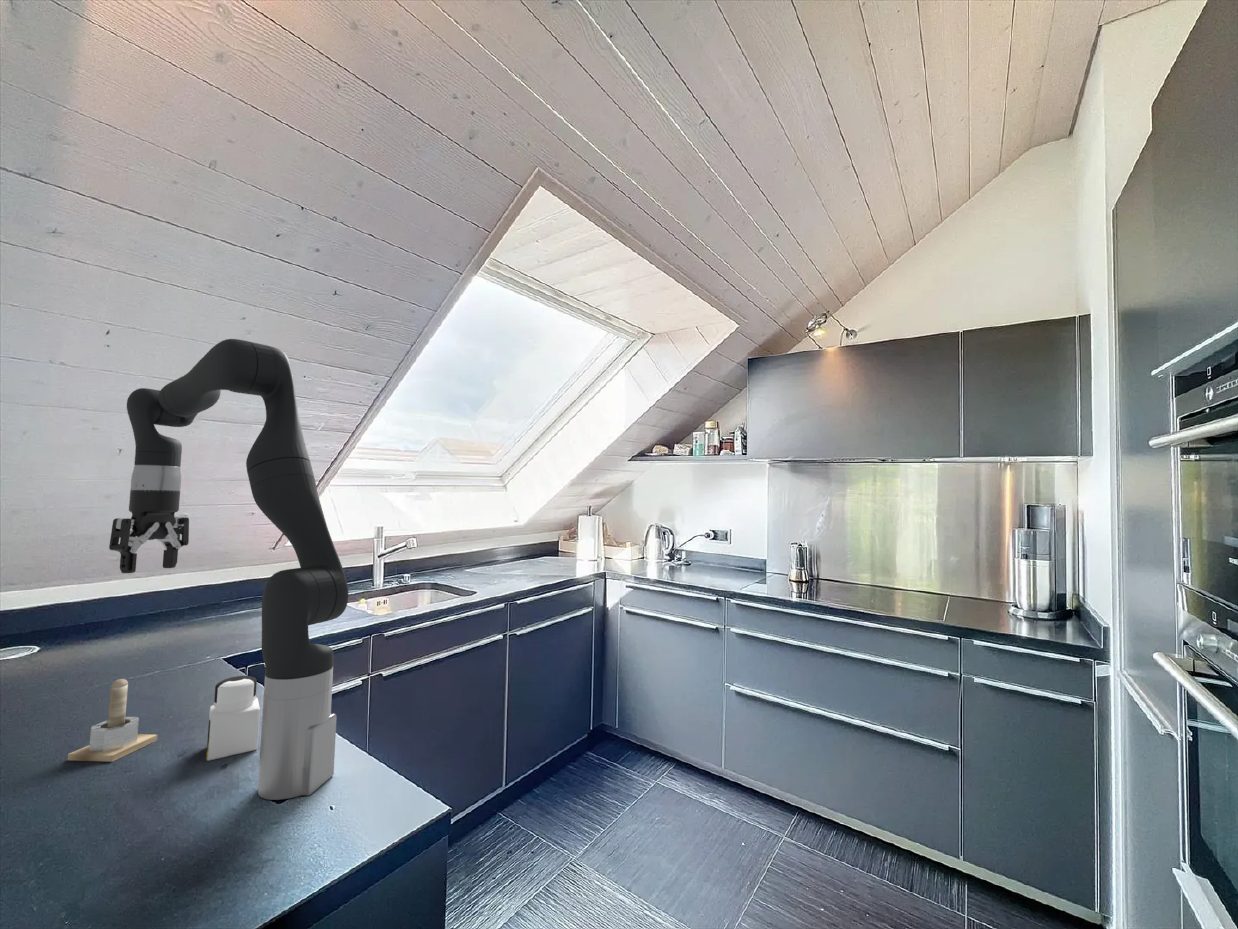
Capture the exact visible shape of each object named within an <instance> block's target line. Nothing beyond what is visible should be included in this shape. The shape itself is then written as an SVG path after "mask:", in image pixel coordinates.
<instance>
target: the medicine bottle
mask: <svg viewBox="0 0 1238 929" xmlns="http://www.w3.org/2000/svg"><path fill="white" fill-rule="evenodd" d="M257 680H258V679H257V678H256V677H253V676H250V675H237V676H232V677H231V676H230V677H228V678H226V679H225V678H224V679H223V680H221V681H219V682H218V683H217V684H216V685H215V687H214V700H213V701H214V702H213V705H210V707H209V716H208V727H207V743H206V745H207V746H206V761H215V760H216V759H217V760H218V759H223V758H227V757H231V756H235V755H239V754H244V753H249V752H253V751H256V750H258V746H259V734H260V733H259V730H260V716H261V715H260V714H261V713H260V712H261V707H260V703H259V698H258V697H257V684H258V683H257V682H258V681H257Z"/></svg>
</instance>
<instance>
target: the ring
mask: <svg viewBox="0 0 1238 929" xmlns="http://www.w3.org/2000/svg"><path fill="white" fill-rule="evenodd" d="M139 719H140V717H139V716H125V725H122V726H118V727H113V728H107V727H108V720H104V721H101V722H99V723H97V724H94V725H92V726H91V728H90V736H89V745H90V747H89V752H102V753H103V752H108V751H112V750H117V749H121V748H124V747H126V746H129V745H131V744H133V743H135V742H137V736H138V734H139V724H140V723H139Z"/></svg>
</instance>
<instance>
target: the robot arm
mask: <svg viewBox="0 0 1238 929" xmlns="http://www.w3.org/2000/svg"><path fill="white" fill-rule="evenodd" d="M291 366H292V365H291V363H290V360H289V358H288V356H287V354H286V353H285V352H284V351H283V350H282V349H280V348H277V347H274V346H270V345H267V344H262V343H258V342H253V341H248V340H245V339H237V338H227V339H223V340H221V341H220V342H218V343H216V344H215V345H213V346H212V348H210V350H208V351H207V352H206V353H205V354H204V355H203V357H201V359H199V361H198V362H197V363H196V364H195V365H194V366H192V368H191V369H190V370H189V371H188V372H187V373H186V374H184V375H183V376H180V377H178V378H177V379H175V380H172V381H171V382H169V383H167V384H166V385H164V386H163V387H162V388H161V389H160V390H159V389H154V388H147V387H145V388H143V387H141V388H136V389H135V390H134V391H132V392H131V393H130V394H129V396H128V398H127V400H126V410H127V416H128V418H129V422H130V425H131V428H132V432H133V437H134V442H135V444H134V445H135V452H134V454H135V455H134V464H133V470H132V474H131V480H130V492H129V502H128V511H129V512H130V513H131V516H130V518H129V517H127V518H126V517H125V518H122V517H121V518H120V517H119V518H114V519H113V520H112V525H111V533H110V539H109V544H108V545H109V546H108V549H109V550H110V551H115V552H119V553H120V561H119V569H120V570H119V571H120V572H121V573H122V574H134V573H136V569H137V559H138V554H137V553H136V552H137V551H138V550H139V549H140V548H141V546H142V545H144V544H145V543H147V541H153V540H156V541H158V542H160V543H161V544H162V545H163V546H162V547H164V548H165V549H163V555H162V556H163V557H162V558H163V559H162V568H164V569H175V568H176V565H177V564H178V557H179V556H178V555H179V550H180V549H181V547H184V546H185V547H186V546H188V545H189V543H190V542H189V541H190V540H189V538H190V537H189V536H190V535H189V534H190V518H189V517H187V516H178V517H177V516H175V513H177V512H179V511H180V498H181V486H182V485H181V484H182V474H181V473H182V472H181V466H182V464H181V463H182V451H183V450H182V447H183V446H182V442H181V441H180V440H178V439H176V438H173V437H169V436H166V435H163V434H162V433H159V431H158V430H157V428H156V426H165V427H174V428H183V427H187V426H189V425H191V424H192V423H194V420H195V418H196V416H198V414H199V413H202V412H204V411H206V410H209V409H210V408H212V407H213V406H215V405H216V404H217V402H218V401H219V399H220V398H221V391H224V390H225V391H229V392H232V393H238V394H244V395H251V396H252V395H253V396H258V397H259V396H260V397H261V398H262V399H263V400H262V401H263V403H264V406H265V422H264V424H263V427H262V429H261V431H260V432H259V433H258V436H257V438H255V441H254V442H253V444H252V446H251V448H250V450H249V452H248V455H247V458H246V462H245V465H246V466H245V467H246V473H247V477H248V482H249V486H250V489H251V490H250V491H251V494H252V498H253V499H254V502H255V505H256V506H257V507H258V509H259V510H261V513H262V514H264V516H266V518H267V519H268V520H270V522H271V523H272V524H273V525H274V526H275V527H276V528H277V529H278V530H279V531H280V532H281V533H282V534H283V535H284V537H286V539H287V540H288V541H289V543H290V544H291V546H292V547H293V550H294V551H295V554H296V556H297V559H298V564H299V567H298V568H297V567H295V568H289V569H287V568H286V569H282V570H279V571H277V572H274V573H273V574H272V575H271V576H270V577H269V579H268V580H267V582H266V584H265V586H264V589H263V593H262V598H261V655H262V659H263V662H264V669H265V670H264V686H263V698H262V699H263V700H262V702H263V703H262V717H261V734H260V746H259V747H260V748H259V762H258V763H259V764H258V766H259V768H258V781H257V782H258V783H257V795H258V796H259V797H260V798H262V799H265V800H270V801H271V800H273V801H275V800H276V801H279V800H287V799H292V798H297V797H299V796H310V795H312V794H313V793H314V792H316V790H318V789H319V788H320V787H321V786H322V785H323V784H325V783H326V782H327V781H328V780H329V779H331V777H332V776H334V774H335V772H334V771H335V758H336V757H335V756H336V754H335V752H336V734H337V714H336V713H332V698H333V697H332V694H333V679H334V673H333V672H334V655H335V654H334V650H333V648H332V647H330V646H329V645H325V644H319V643H312V642H311V641H310V636H309V634H310V633H309V626H312V625H316V624H320V623H325V622H329V621H333V620H335V619H338V618H339V617H340V616H342V615H343V613H344V612H345V610H346V608H347V607H348V602H349V596H350V594H349V587H348V581H347V580H348V579H347V577H346V573H345V571H344V568H343V566H342V562H341V560H340V558H339V555H338V553H337V550H336V547H335V545H334V542H333V539H332V536H331V534H330V531H329V527H328V525H327V521H326V518H325V514H324V512H323V509H322V508H323V507H322V504H321V500H320V497H319V493H318V488H317V484H316V478H315V474H314V471H313V467H312V464H311V463H312V462H311V459H310V456H309V453H308V449H307V446H306V442H305V438H304V435H303V434H304V433H303V430H302V426H301V422H300V421H301V420H300V417H299V411H298V405H297V404H298V403H297V397H296V391H295V390H296V389H295V383H294V376H293V369H292V367H291Z"/></svg>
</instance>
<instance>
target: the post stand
mask: <svg viewBox="0 0 1238 929" xmlns="http://www.w3.org/2000/svg"><path fill="white" fill-rule="evenodd" d="M128 689H129V682H128V680H126V679H125V678H120V679H115V680H114V681H113V682H112V683H111V686H110V691H109V692H110V694H109V705H108V706H109V707H108V715H107V716H108V727H107V728H113V727H118V726H122V725H125V717H126V714H127V713H126V712H127V701H128ZM157 741H158V734H146V733H144V734H143V733H138V736H137V742H135V743H133V744H131V745H129V746H126V747H124V748H121V749H117V750H112V751H108V752H103V753H102V752H89V747H90V744H88V745H86V746H84V747H82V748H79V749H76V750H73V751H72V752H70V753H68V754H67V761H78V762H79V761H81V762H83V761H84V762H114V761H117V760H119V759H121V758H123V757H126V756H127V755H129V754H131V753H135V752H136V751H139V750H140V749H142V748H144V747H146V746H148V745H151V744H152V743H155V742H157Z"/></svg>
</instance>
